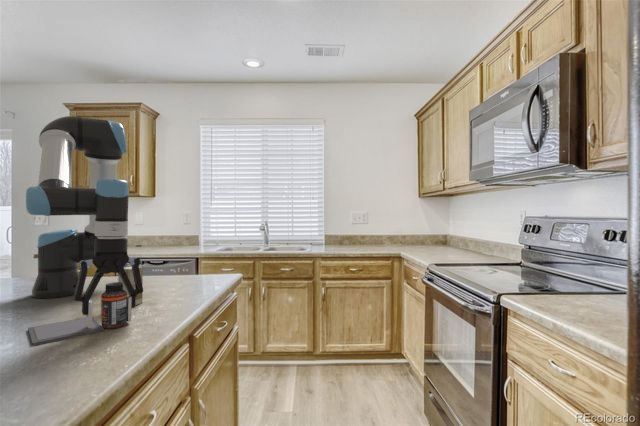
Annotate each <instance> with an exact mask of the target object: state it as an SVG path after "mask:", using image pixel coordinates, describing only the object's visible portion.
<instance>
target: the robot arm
mask: <svg viewBox="0 0 640 426" xmlns="http://www.w3.org/2000/svg"><path fill="white" fill-rule="evenodd" d="M126 140H127V139H126V134H125V129H124V126H123V125H122V123H120V122H118V121H113V120H108V119H100V118H99V119H98V118H90V117H81V116H76V115H75V116H74V115H68V116H67V115H66V116H63V117H62V116H61V117H59V118H56V119H54V120H53V121H50V122H48V123H47V124H46V125H45V126H44V127H43V128H42V130H41V131H40V133H39V137H38V143H39V146H40V148H41V155H40V156H41V157H40V166H39V175H38V182H37V184H38V185H37V186H29V187H27V188H26V193H25V207H26V212H27V213H28V214H29V215H33V216H45V217H49V216H89V219H88V222H89V223H88V224H87V225H86V226H84V231H82V232H79V231H78V228H69V229H67V228H66V229H60V230H53V231H47V232H43V233H40V234H39V236H38V237H37V246H36V248H37V276H36V277H35V278H36V279H35V281H34V284H33V287H32V289H31V297H32V298H35V299H52V298H61V297H67V296H73V300H75V301H76V302H81V313H82V315H83V316H86V317H87V324H86V326H87V327H88V329H89V328H92V317H93V304H94V303H93V301H92V300H91V298H92V296H93V294H94V292H95V290H96V289H97V286H98V285H99V283H100V281H101V279H102V277H104V275H106V274H111V273H112V274H113V273H114V274H116V273H117V274H119V275H120V277H121V279H122V281H123V283H124V285H125V287H126V289H127V291H128V293H129V295H128V296H127V323H129V322H131V321H132V309H134V308H135V307H136V305H135V301H136V296H137V294H139V293H142V294H143V292H144V287H143V285H142V281H141V275H140V270H139V266H140V262H141V259H140V257H137V256H134V257H131V256H130V257H129V255H128V239H127V238H126V237H127V236H128V230H129V225H128V224H129V223H128V221H129V214H128V213H129V195H130V191H129V189H130V188H129V182H128V181H127V180H125V179H119V178H118V177H117V176H118V175H117V174H118V169H117V168H118V163H119V162H120V161H122V159H123V158H122V157H123V155H126V154H127V152H128V151H127V141H126ZM74 151H78V152H84V156H83V157H85V158H86V160H88V162H89V187H88V188H87V187H86V188H84V187H81V188H80V187H72V185H73V184H72V183H73V182H72V177H73V176H72V175H73V174H72V173H73V172H72V168H73V164H72V163H73V152H74ZM117 178H118V179H117ZM128 262H129V265H131V266H132V271H133V277H134V282H135V287H136V289H135V290H134V288H133V286H132V284H131V282H130V280H129V278H128V276H127V274H126V272H125V270H124V268H125V266H126V265H127V264H128ZM78 264H79V267H78ZM92 264H93V265H94V267H95V268H96V270H95V273H94V275H93V277H92V279H91V281H90V282H89V284H88V286H87V288H86V290H85V292H84V288H85V284H86V283H85V282H86V279H87V275H88V271H89V270H88V269H91V266H92ZM78 268H79V269H80V270H78ZM83 292H84V294H83Z"/></svg>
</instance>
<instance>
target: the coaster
mask: <svg viewBox="0 0 640 426" xmlns="http://www.w3.org/2000/svg"><path fill="white" fill-rule="evenodd" d="M86 324H87V316H86V317H81V318H76V319H69V320H65V321H59V322H53V323H48V324H41V325H36V326H30V327H27V331H28V335H29V338H30V341H31V344H32V346H38V345H43V344H47V343H52V342H57V341H63V340H68V339H72V338H76V337H77V336H78V337H81V336H87V335H91V334H96V333H101V332H104V331H105V328H103V327H102V324H100V323H99V322H98V321H97V320H96V318H95V317H93V316H92V328H89V329H88V327H87V326H86ZM86 334H87V335H86Z"/></svg>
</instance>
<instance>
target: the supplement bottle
mask: <svg viewBox="0 0 640 426" xmlns="http://www.w3.org/2000/svg"><path fill="white" fill-rule="evenodd" d="M122 288H123V283H122V282H117V281H115V282H109V283H106V284H105V288H104V289H105V291H104V292H102V293H101V295H100V298H101V299H100V307H101V308H100V309H101V310H100V315H101V316H100V319H101V322H100V323H101V324H100V325H101V326H102V327H103V328H104V329H105V330H106V329H107V330H112V329H118V328H121V327H122V328H123V327H124V326H126V325H127V323H128V321H127V292H126V291H125V290H123V289H122Z"/></svg>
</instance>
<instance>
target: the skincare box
mask: <svg viewBox="0 0 640 426" xmlns="http://www.w3.org/2000/svg"><path fill="white" fill-rule="evenodd" d="M123 268H124V270H125V272H126V274H127V276H128V278H129V280H130V282H131V284H132V286H133V288H134V290H135V289H136V287H135V282H134V277H133V271H132V265H131V266H126V267H125V266H124V267H123ZM139 270H140V275H141V281H142V286H143V283H144V282H143V281H144V280H143V277H144V276H143V273H144V272H143V266H140V265H139ZM117 274H118V273H117ZM117 276H118V277H117V281H118V282H122V283H123V281H122V279H121V277H120V275H119V274H118V275H117ZM122 289H123V290H125V291H126V292H127V296H128V295H129V293H128V291H127V289H126V287H125V285H124V283H123V288H122ZM140 304H143V292H142V293H139V294H137V296H136V301H135V306H137V305H140Z"/></svg>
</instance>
